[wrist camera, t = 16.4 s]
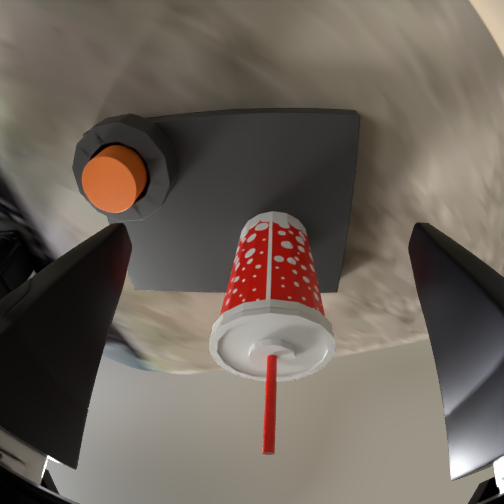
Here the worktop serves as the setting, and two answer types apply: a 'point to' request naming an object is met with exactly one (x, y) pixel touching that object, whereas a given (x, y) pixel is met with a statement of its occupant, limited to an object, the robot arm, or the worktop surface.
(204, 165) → the scale
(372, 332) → the worktop surface
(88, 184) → the button
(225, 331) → the beverage cup
